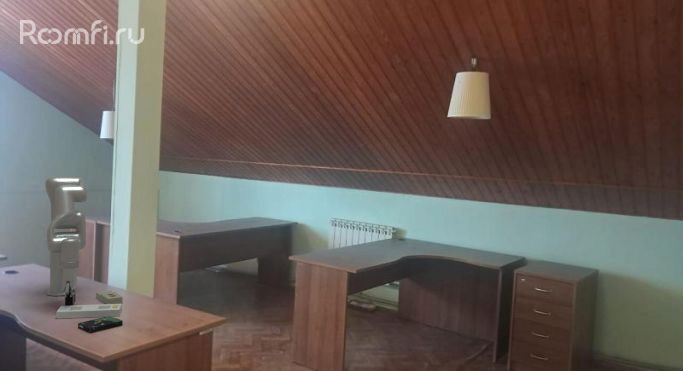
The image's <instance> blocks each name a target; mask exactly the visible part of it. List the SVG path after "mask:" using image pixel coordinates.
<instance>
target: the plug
mask: <svg viewBox="0 0 683 371" xmlns="http://www.w3.org/2000/svg"><path fill="white" fill-rule="evenodd" d="M70 294H71V292H70ZM72 297H73V305H75V303H76V291H75V292H73V291H72Z"/></svg>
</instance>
